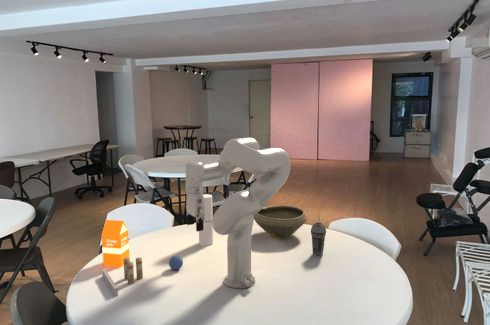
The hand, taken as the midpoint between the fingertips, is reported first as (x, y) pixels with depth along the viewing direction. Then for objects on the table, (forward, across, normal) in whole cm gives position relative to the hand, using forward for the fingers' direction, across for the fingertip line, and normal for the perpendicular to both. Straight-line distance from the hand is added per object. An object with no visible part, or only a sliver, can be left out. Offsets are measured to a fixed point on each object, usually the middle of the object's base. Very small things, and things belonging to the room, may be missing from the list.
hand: (195, 227), depth 172 cm
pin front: (+17, -1, +26) cm, 31 cm away
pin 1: (+17, +2, +30) cm, 35 cm away
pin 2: (+17, -4, +30) cm, 35 cm away
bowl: (+17, +10, -54) cm, 58 cm away
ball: (+14, -1, +10) cm, 17 cm away
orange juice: (+18, +20, +30) cm, 40 cm away
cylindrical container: (+17, +20, -15) cm, 31 cm away
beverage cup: (+17, -21, -54) cm, 60 cm away
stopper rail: (+17, -1, +38) cm, 41 cm away
